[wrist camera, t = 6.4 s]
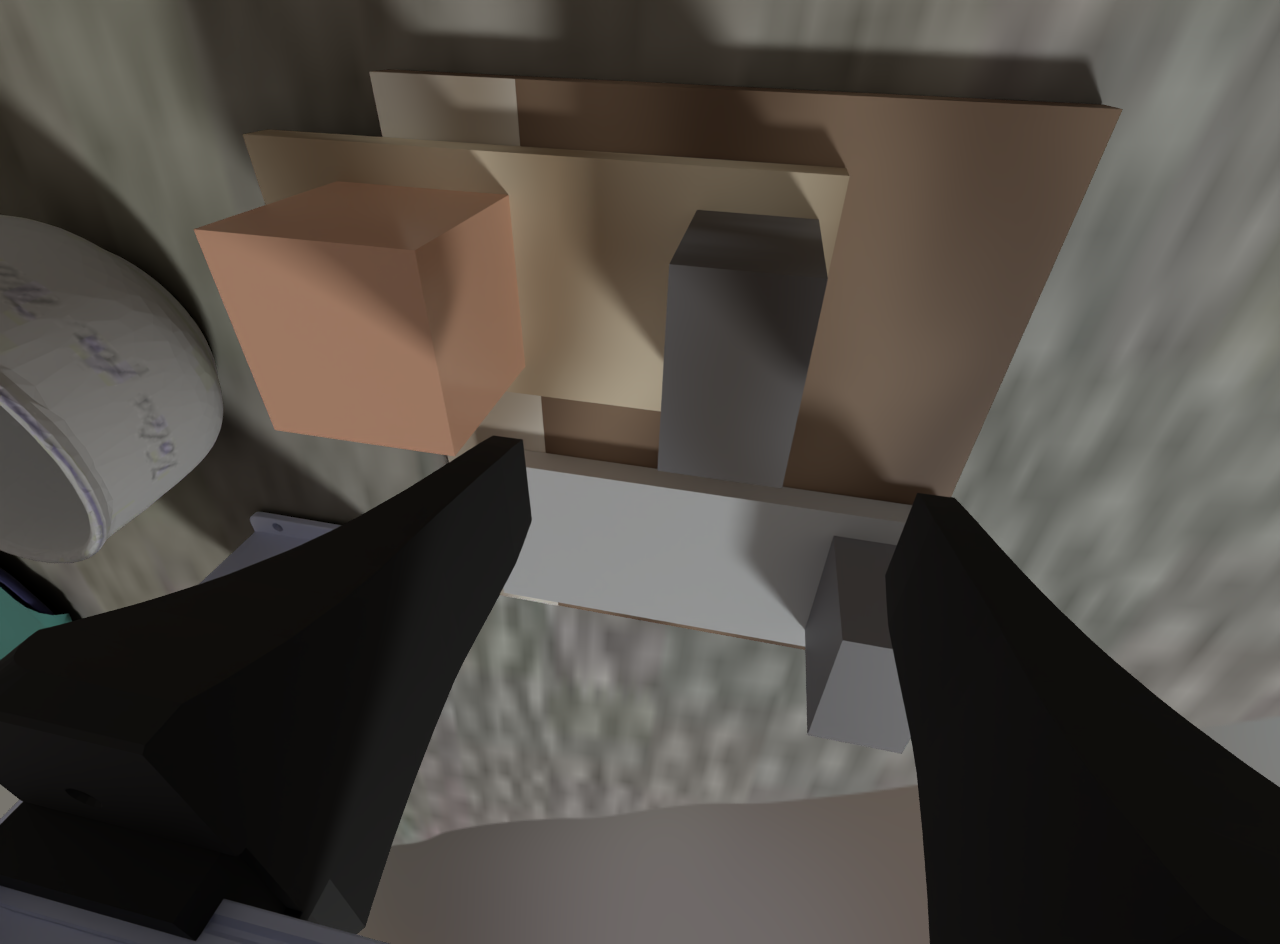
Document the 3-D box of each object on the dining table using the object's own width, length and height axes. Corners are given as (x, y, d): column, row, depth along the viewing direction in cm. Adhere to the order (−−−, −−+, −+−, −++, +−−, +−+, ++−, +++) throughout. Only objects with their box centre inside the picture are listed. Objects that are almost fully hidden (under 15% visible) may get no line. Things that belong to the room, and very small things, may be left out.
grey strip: (512, 575, 26) (459, 680, 22) (493, 445, 22) (423, 544, 18) (887, 641, 24) (908, 772, 20) (945, 509, 20) (988, 640, 16)
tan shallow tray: (336, 354, 21) (222, 436, 17) (268, 129, 17) (93, 162, 13) (794, 412, 19) (795, 523, 15) (846, 168, 15) (869, 224, 10)
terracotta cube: (379, 348, 19) (275, 430, 15) (336, 181, 16) (193, 229, 12) (525, 366, 19) (454, 456, 15) (508, 194, 16) (414, 250, 12)
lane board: (483, 574, 28) (475, 590, 28) (389, 69, 16) (369, 71, 16) (874, 643, 26) (877, 663, 25) (1103, 104, 14) (1123, 109, 13)
